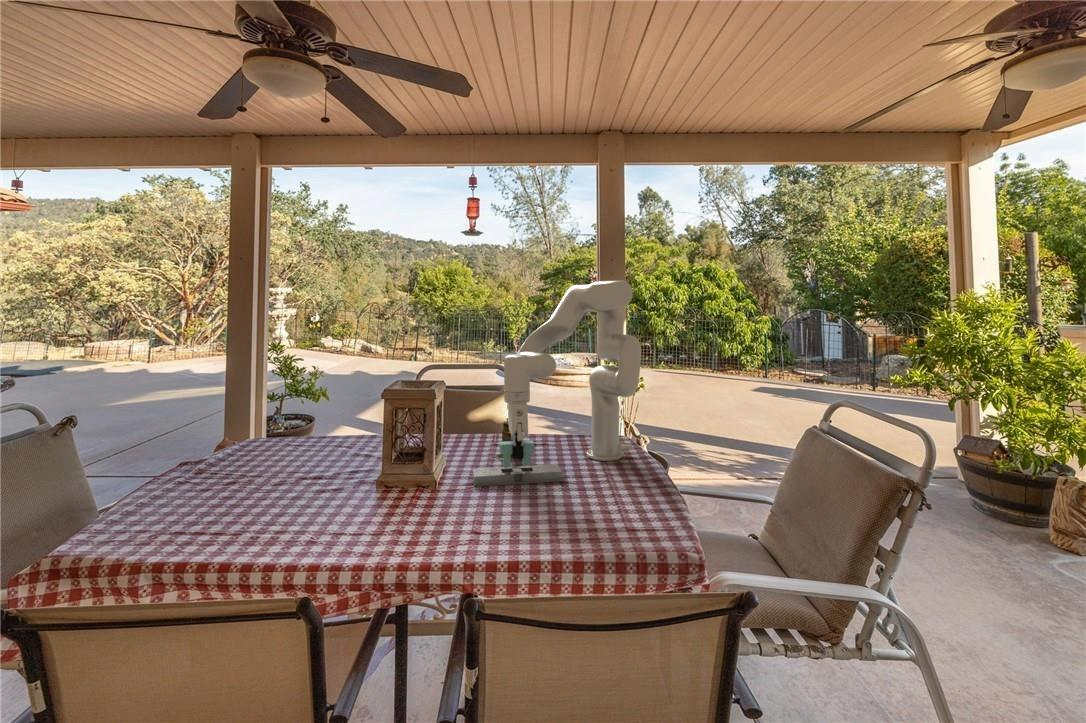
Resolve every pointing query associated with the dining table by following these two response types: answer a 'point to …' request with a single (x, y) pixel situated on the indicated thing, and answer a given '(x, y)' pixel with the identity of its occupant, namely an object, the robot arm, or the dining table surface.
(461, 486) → the dining table surface
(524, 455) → the clip
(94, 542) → the dining table surface
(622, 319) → the robot arm
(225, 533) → the dining table surface
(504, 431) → the condiment
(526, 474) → the rail
